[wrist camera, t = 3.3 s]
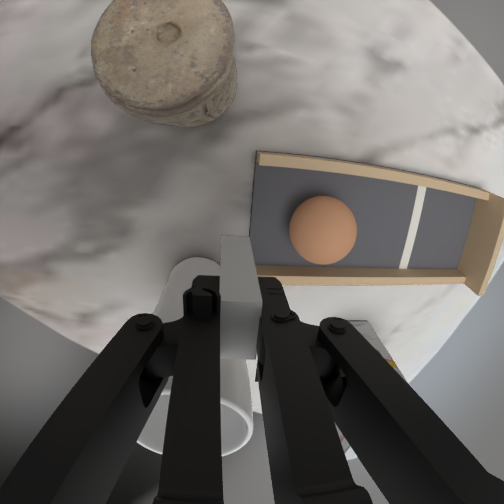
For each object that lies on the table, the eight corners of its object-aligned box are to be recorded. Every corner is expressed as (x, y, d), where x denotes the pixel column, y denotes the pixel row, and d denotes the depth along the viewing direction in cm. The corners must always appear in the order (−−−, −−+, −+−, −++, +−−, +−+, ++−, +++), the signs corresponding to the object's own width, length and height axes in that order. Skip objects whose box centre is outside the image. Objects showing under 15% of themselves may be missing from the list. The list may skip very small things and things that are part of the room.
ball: (280, 247, 25) (292, 276, 20) (287, 186, 23) (303, 203, 18) (336, 249, 26) (359, 277, 21) (347, 192, 24) (374, 209, 19)
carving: (197, 21, 18) (178, -58, 7) (255, 94, 21) (288, 66, 10) (129, 70, 19) (50, 34, 8) (185, 142, 22) (147, 164, 11)
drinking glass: (199, 230, 24) (177, 366, 11) (253, 284, 27) (283, 431, 13) (145, 279, 26) (93, 421, 12) (199, 326, 28) (191, 470, 15)
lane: (246, 270, 26) (251, 302, 22) (256, 150, 22) (265, 158, 18) (457, 273, 29) (483, 295, 24) (480, 188, 25) (512, 202, 20)
